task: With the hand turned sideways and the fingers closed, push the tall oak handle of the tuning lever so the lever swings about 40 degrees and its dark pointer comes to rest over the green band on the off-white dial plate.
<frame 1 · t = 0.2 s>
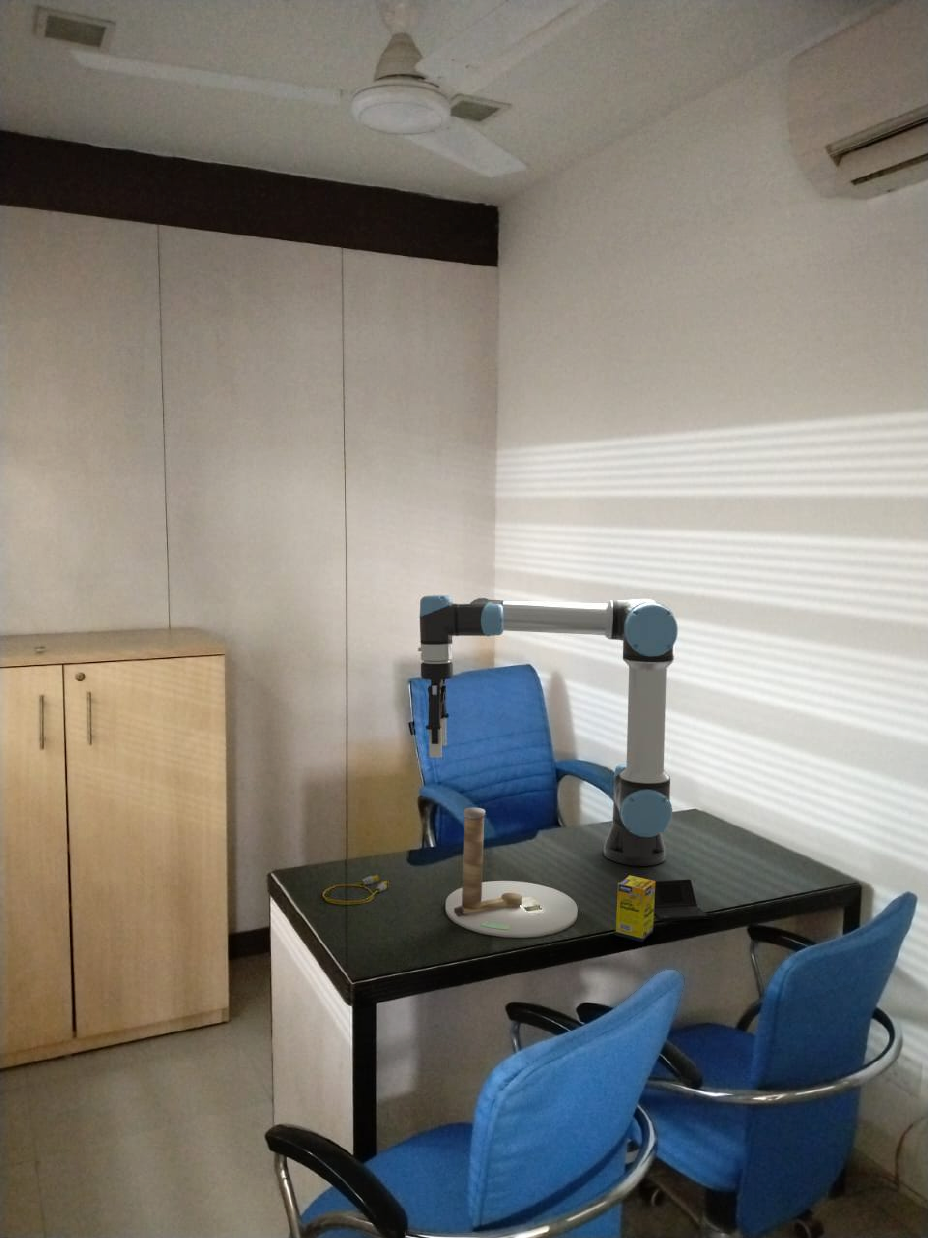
hand: (438, 751, 236), 28 cm above the table, tool pointing down, fingers open, 13 cm apart
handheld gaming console: (674, 914, 215), on the table
tuning lever: (490, 858, 208), point 12 cm above the table, hinge at 0.0°
extension cord: (356, 896, 220), on the table
supplement box: (634, 935, 202), on the table
dial plate: (511, 910, 213), on the table
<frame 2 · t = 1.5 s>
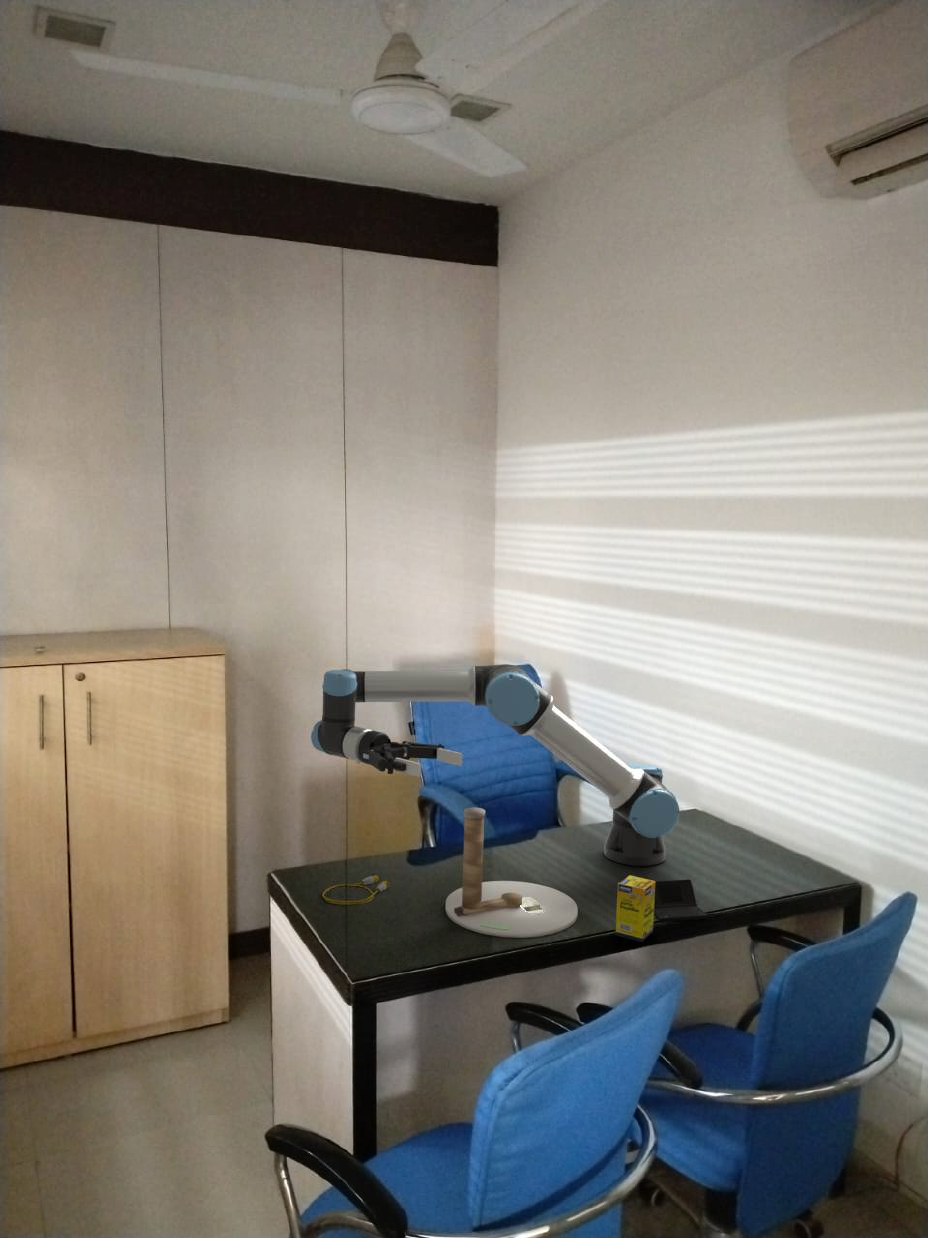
hand: (441, 764, 211), 31 cm above the table, tool horizontal, fingers open, 13 cm apart
nothing on the table moved.
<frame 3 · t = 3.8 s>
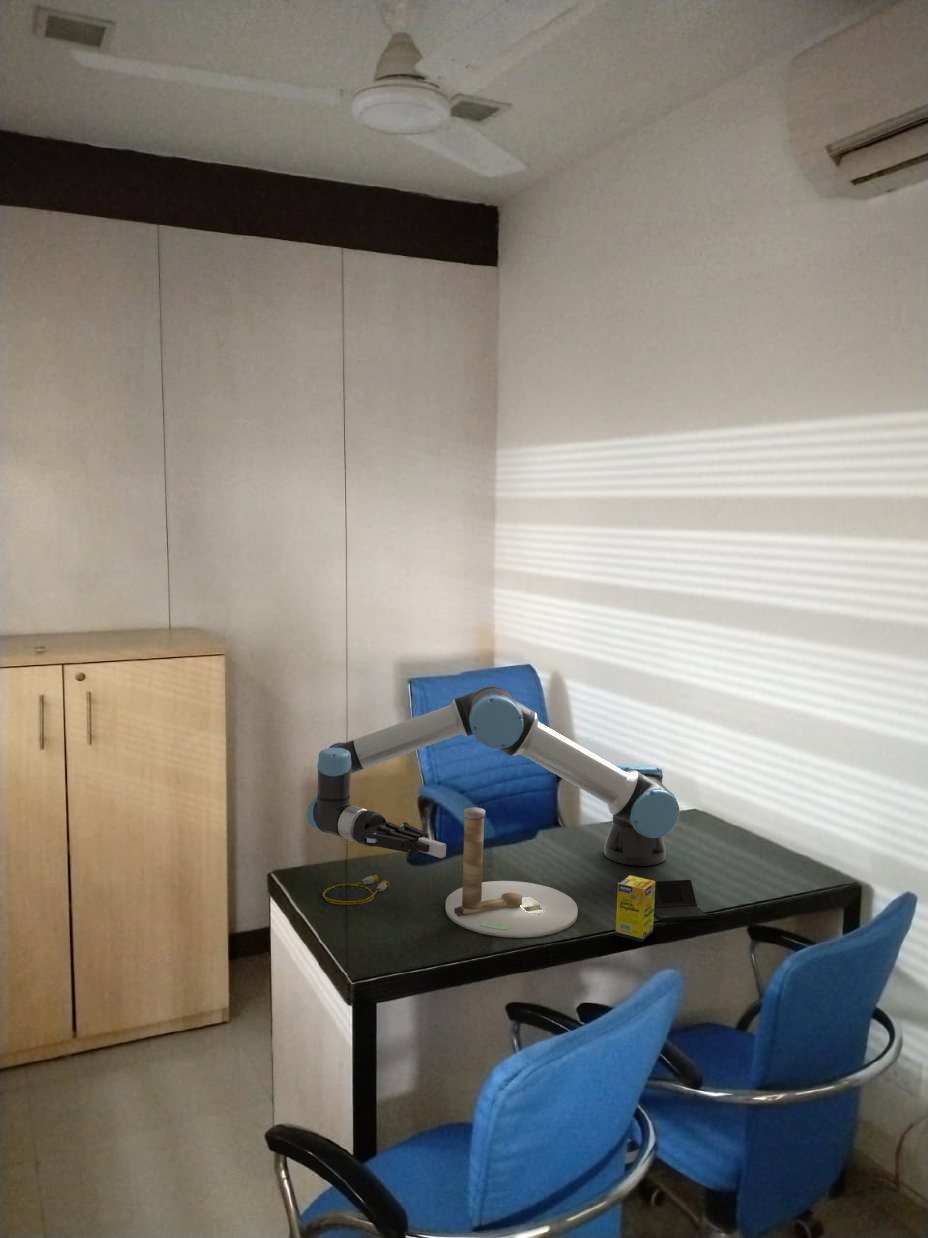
hand: (443, 851, 211), 13 cm above the table, tool horizontal, fingers closed
nothing on the table moved.
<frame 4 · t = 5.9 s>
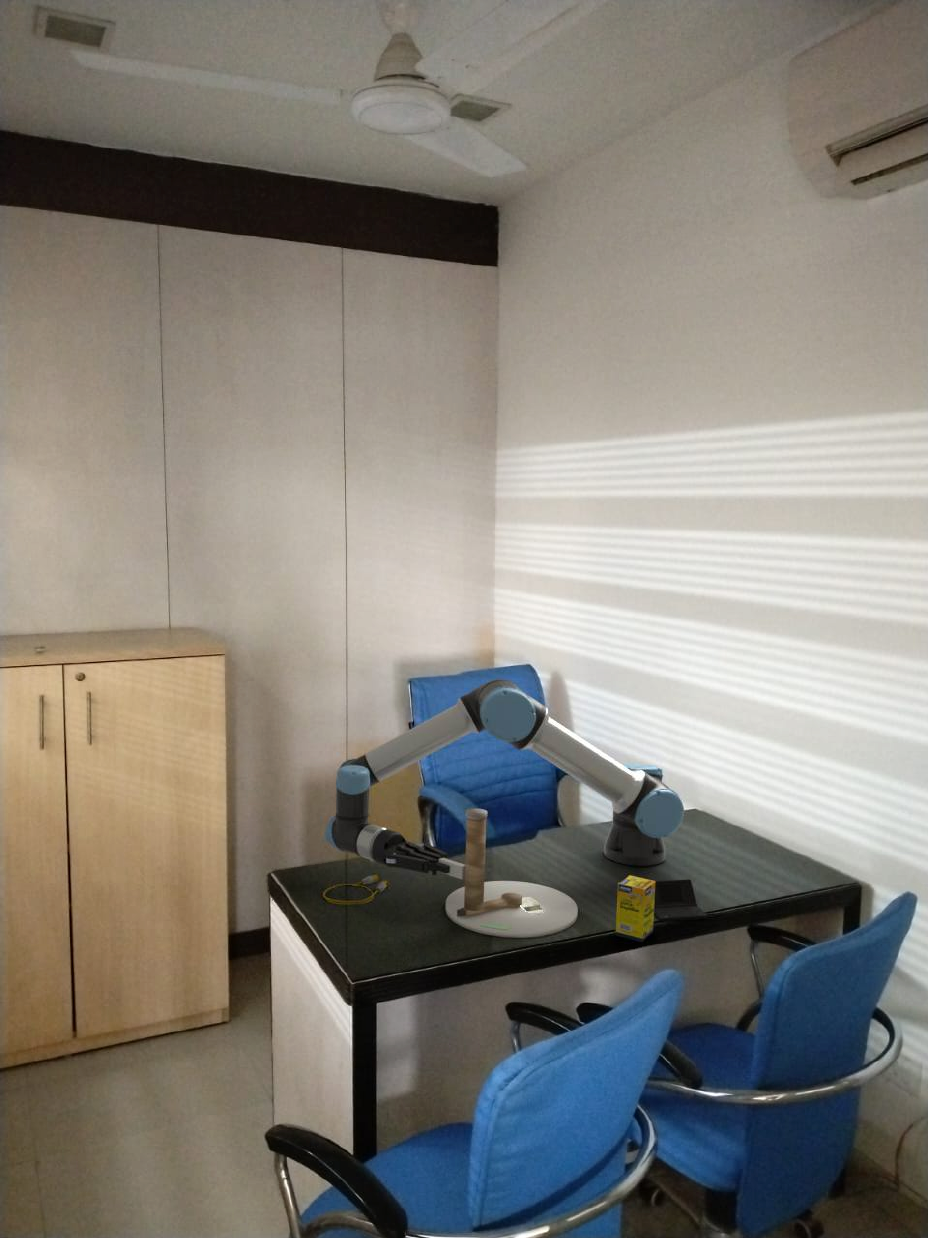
hand: (464, 872, 207), 10 cm above the table, tool horizontal, fingers closed
tuning lever: (491, 858, 208), point 12 cm above the table, hinge at 4.6°, touching gripper
everything else where it was.
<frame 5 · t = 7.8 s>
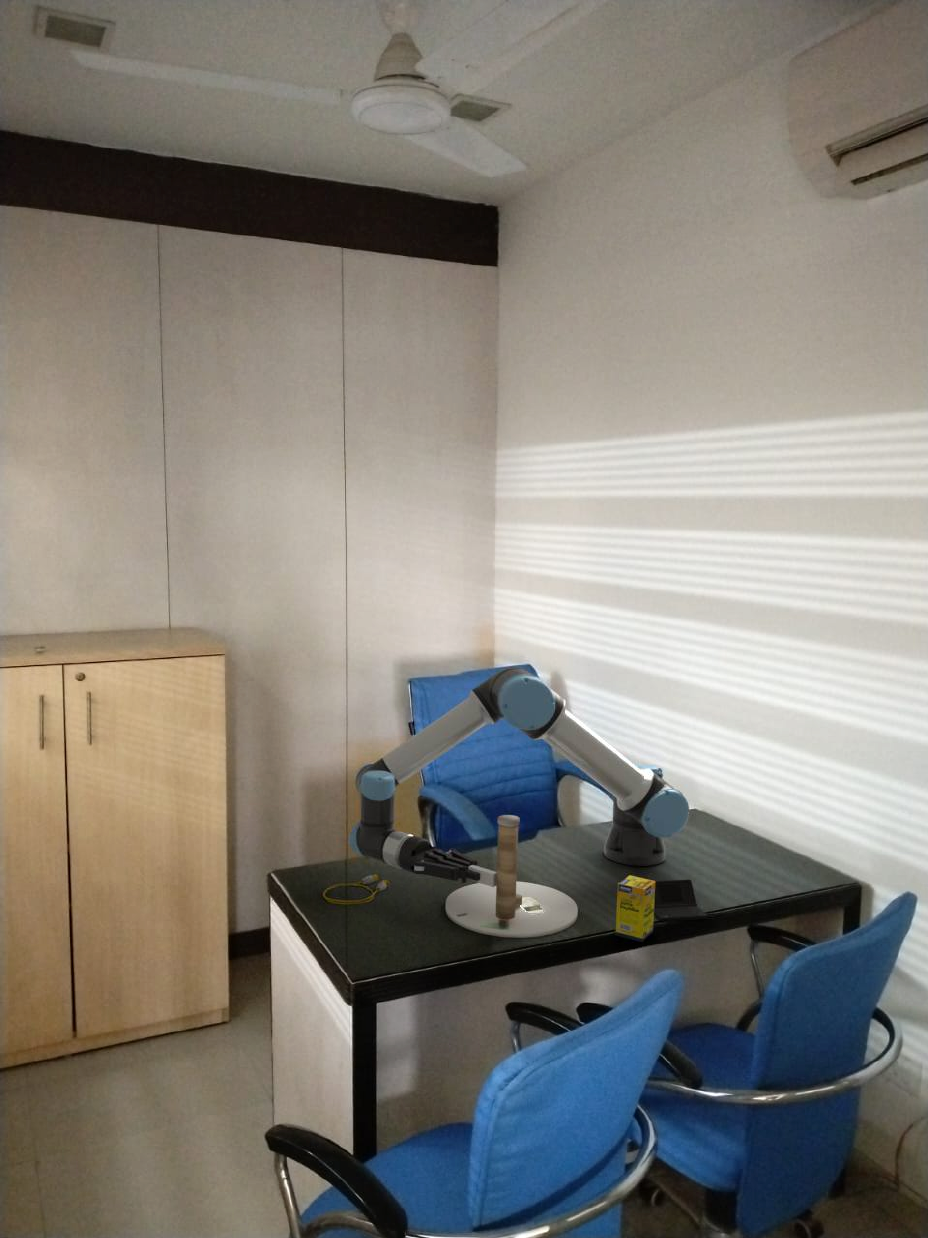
hand: (495, 879, 203), 10 cm above the table, tool horizontal, fingers closed
tuning lever: (509, 863, 206), point 12 cm above the table, hinge at 48.5°, touching gripper
everything else where it was.
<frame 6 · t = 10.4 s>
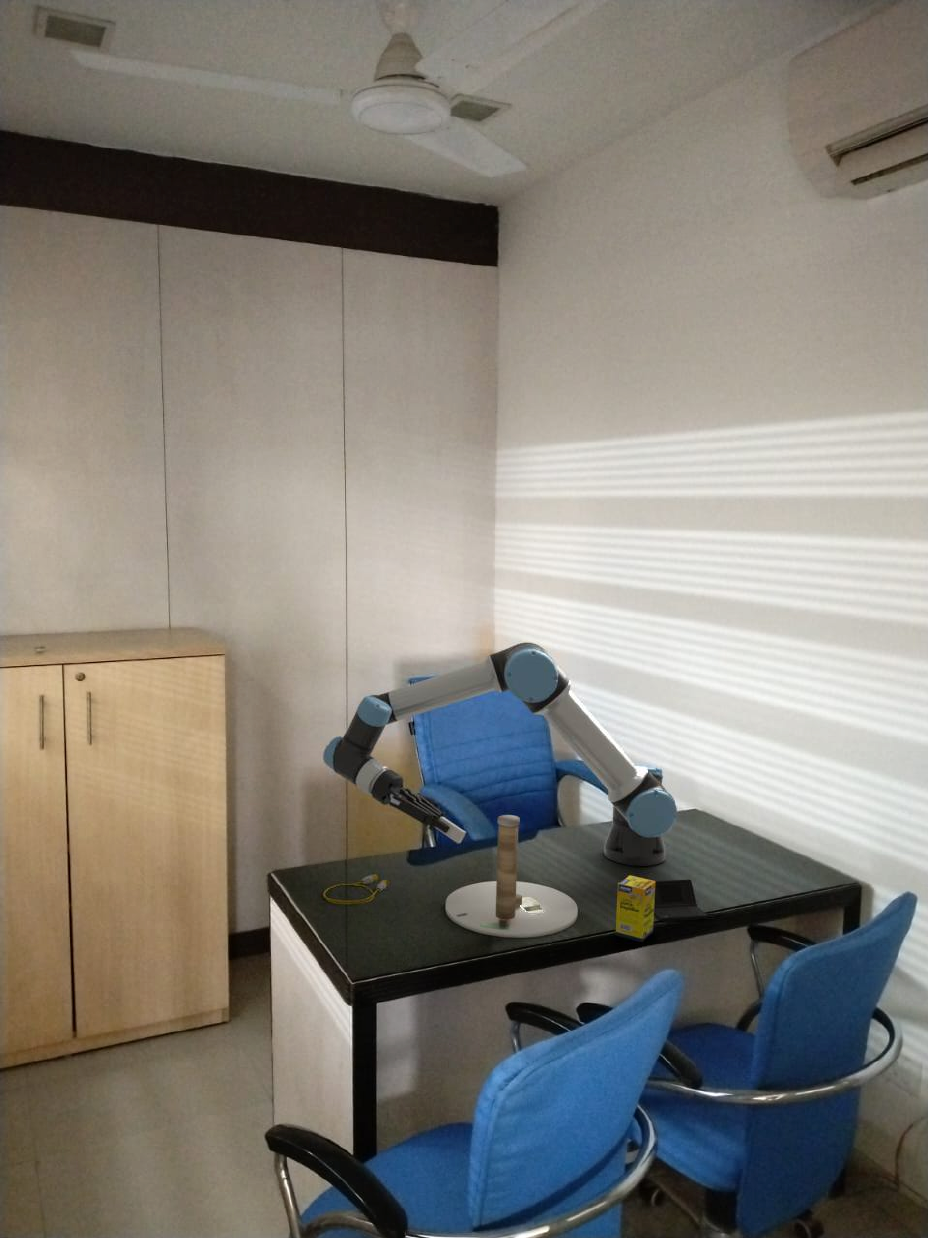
hand: (461, 837, 219), 13 cm above the table, tool tilted 70°, fingers closed
tuning lever: (509, 863, 206), point 12 cm above the table, hinge at 48.6°
everything else where it was.
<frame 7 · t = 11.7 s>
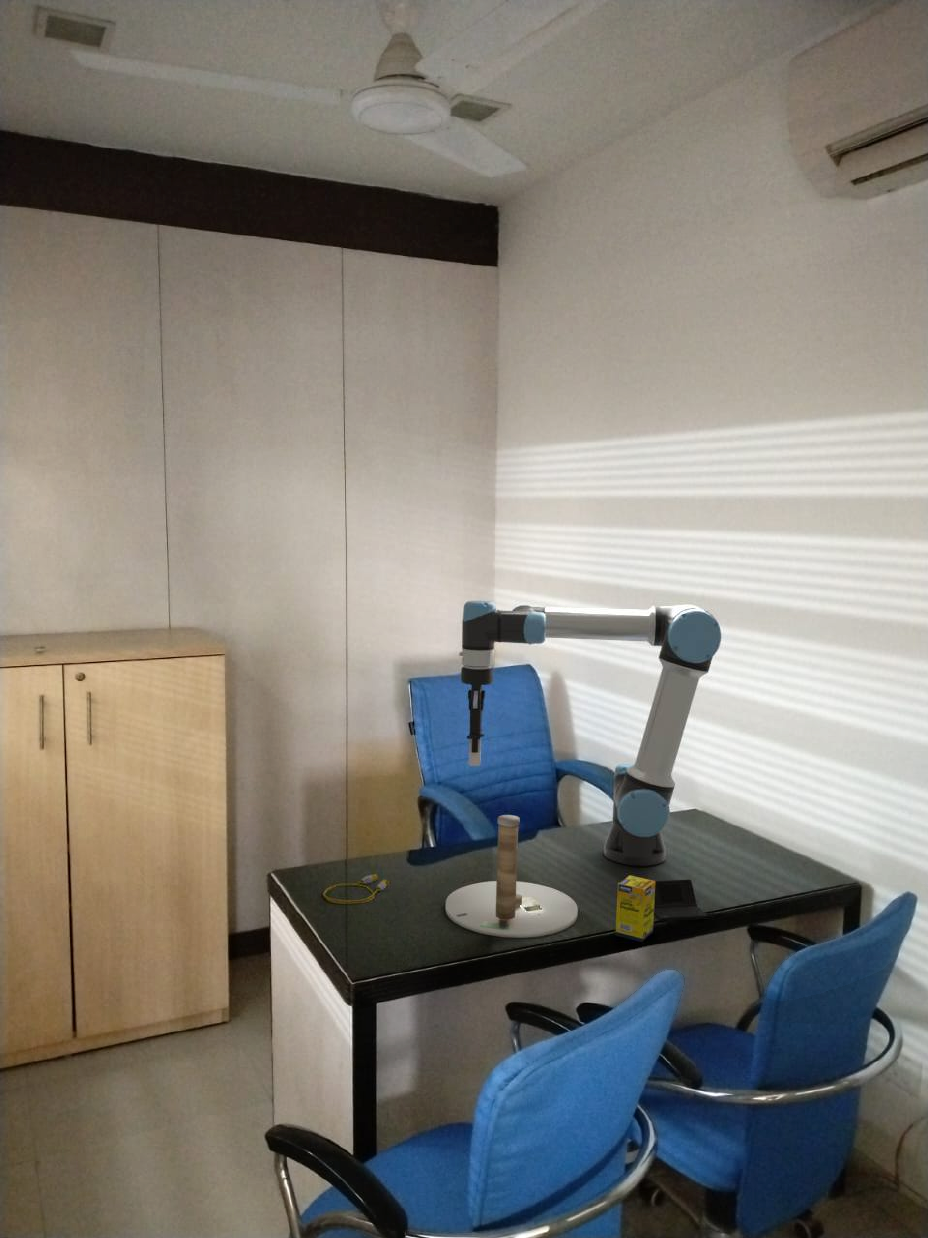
hand: (474, 764, 238), 24 cm above the table, tool pointing down, fingers closed
nothing on the table moved.
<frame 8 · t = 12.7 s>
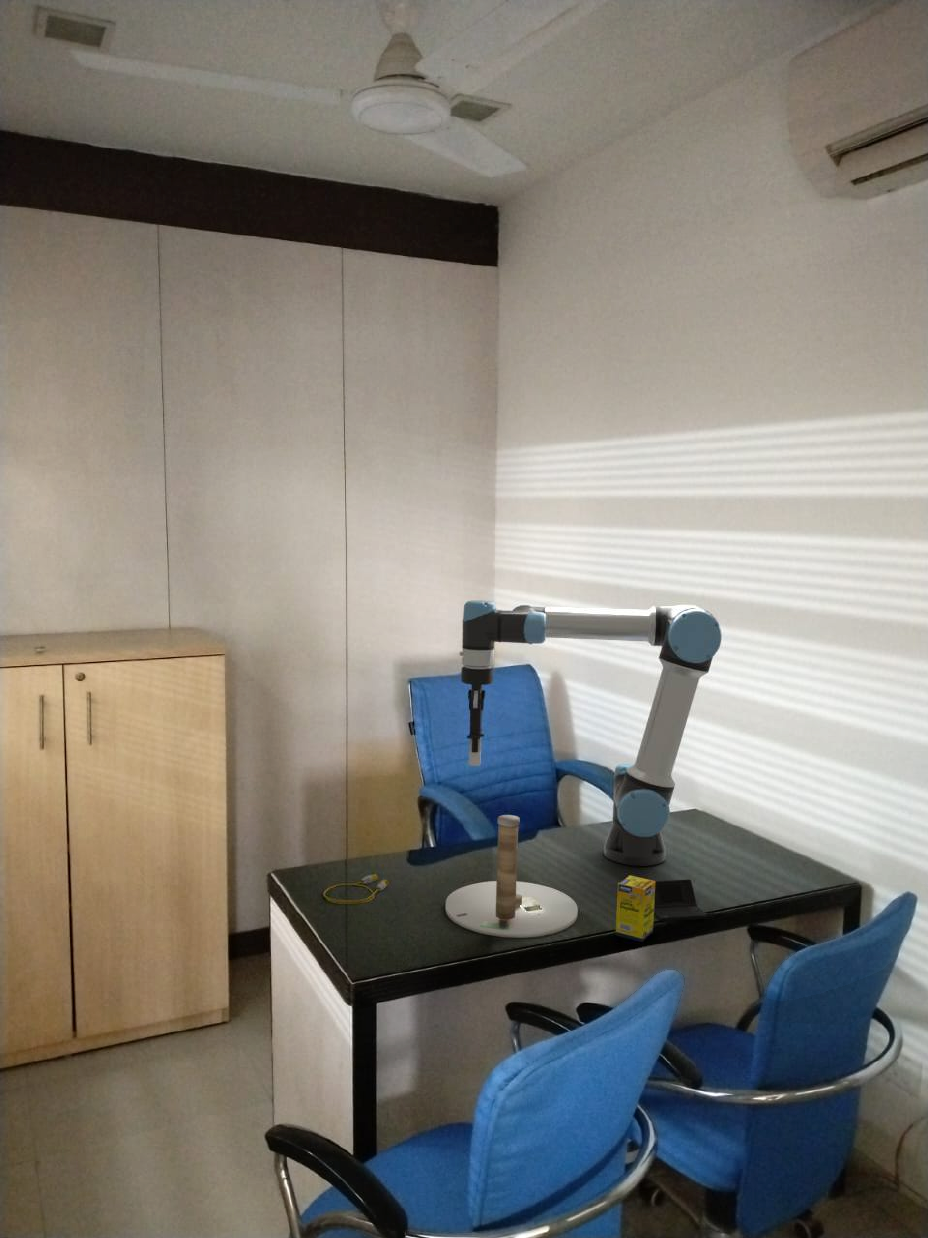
hand: (474, 764, 238), 24 cm above the table, tool pointing down, fingers closed
nothing on the table moved.
at the end: tuning lever at +49° (first picture: +0°) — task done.
